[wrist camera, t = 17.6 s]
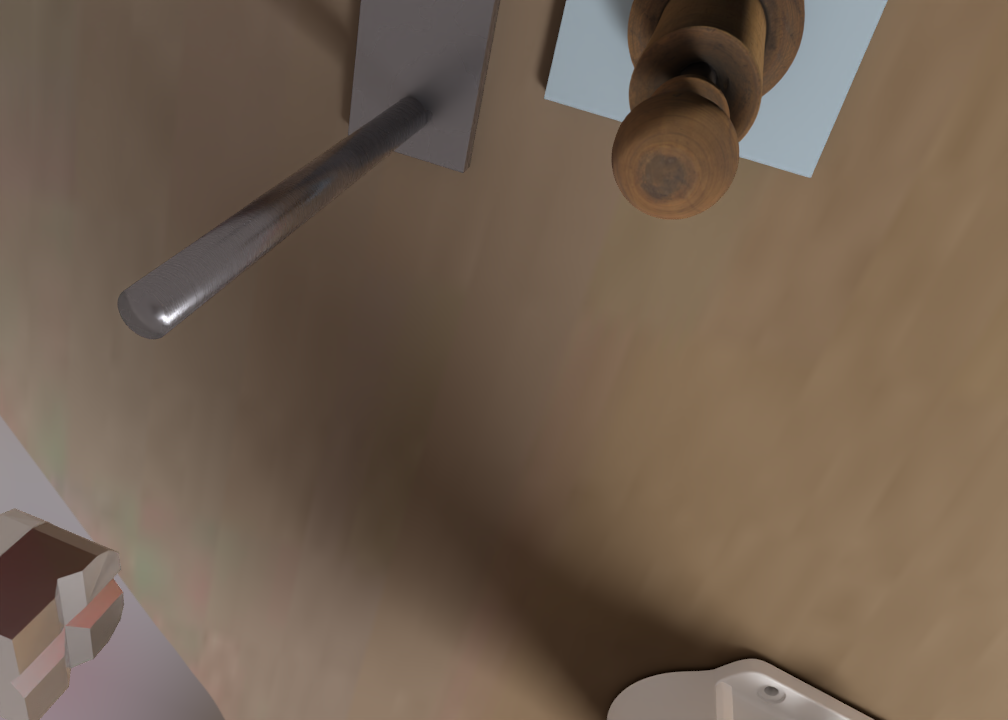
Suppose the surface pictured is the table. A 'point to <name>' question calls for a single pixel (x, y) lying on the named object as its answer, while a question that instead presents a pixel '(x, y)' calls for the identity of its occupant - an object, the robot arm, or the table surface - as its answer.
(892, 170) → the table surface
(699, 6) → the wooden turned spindle
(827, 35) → the mat
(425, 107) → the retort stand
